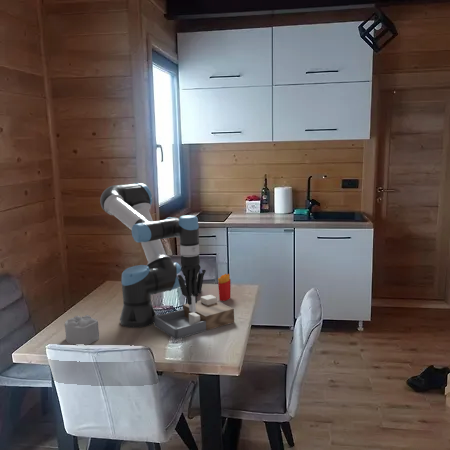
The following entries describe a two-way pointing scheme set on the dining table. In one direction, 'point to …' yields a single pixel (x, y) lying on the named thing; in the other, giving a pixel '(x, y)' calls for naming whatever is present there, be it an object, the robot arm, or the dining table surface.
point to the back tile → (208, 299)
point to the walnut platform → (212, 314)
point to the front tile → (193, 318)
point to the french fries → (224, 287)
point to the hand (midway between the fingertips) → (192, 311)
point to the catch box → (178, 324)
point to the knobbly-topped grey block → (81, 330)
